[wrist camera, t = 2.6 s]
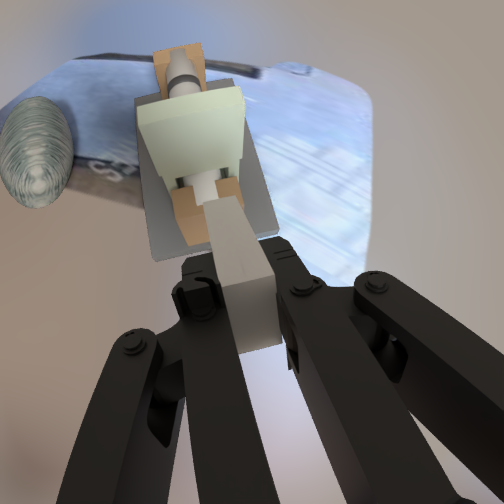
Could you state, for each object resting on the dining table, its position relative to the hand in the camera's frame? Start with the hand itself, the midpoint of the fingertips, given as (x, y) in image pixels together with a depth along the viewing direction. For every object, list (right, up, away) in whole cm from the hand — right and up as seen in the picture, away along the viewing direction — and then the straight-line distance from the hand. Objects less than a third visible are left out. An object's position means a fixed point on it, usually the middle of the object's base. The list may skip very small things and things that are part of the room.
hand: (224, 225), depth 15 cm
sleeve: (-3, +5, +13) cm, 14 cm away
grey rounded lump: (-23, +9, +18) cm, 31 cm away
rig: (-5, +9, +18) cm, 21 cm away
